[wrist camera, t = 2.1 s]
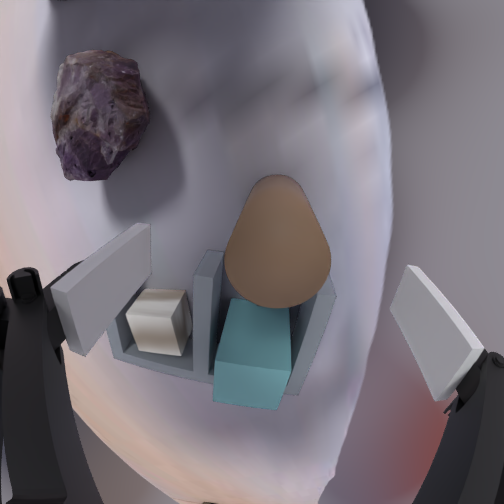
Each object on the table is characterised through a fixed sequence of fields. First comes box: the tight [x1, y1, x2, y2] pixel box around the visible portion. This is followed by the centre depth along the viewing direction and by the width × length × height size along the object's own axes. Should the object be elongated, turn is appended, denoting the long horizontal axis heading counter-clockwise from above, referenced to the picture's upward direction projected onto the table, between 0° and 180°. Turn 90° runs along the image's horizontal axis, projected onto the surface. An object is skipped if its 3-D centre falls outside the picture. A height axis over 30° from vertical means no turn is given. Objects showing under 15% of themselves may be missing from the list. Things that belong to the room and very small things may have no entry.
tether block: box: [213, 175, 331, 410], centre depth 21 cm, size 19×6×12 cm, turn 173°
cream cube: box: [126, 289, 193, 356], centre depth 27 cm, size 5×5×5 cm
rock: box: [51, 50, 150, 181], centre depth 17 cm, size 12×9×10 cm
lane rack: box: [106, 250, 336, 395], centre depth 26 cm, size 14×22×5 cm, turn 83°
